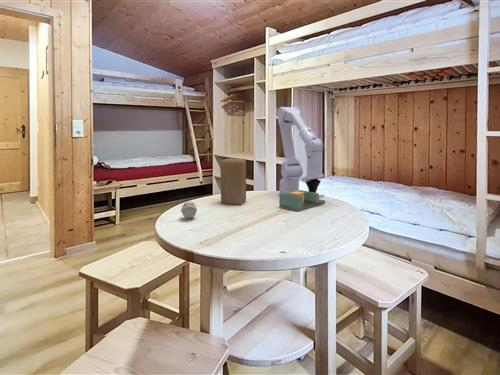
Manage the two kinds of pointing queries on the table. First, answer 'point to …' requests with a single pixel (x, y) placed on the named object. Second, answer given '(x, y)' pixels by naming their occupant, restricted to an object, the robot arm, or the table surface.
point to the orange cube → (299, 195)
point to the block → (233, 181)
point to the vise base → (304, 206)
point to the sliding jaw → (311, 196)
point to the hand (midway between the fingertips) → (312, 195)
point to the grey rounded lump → (189, 210)
